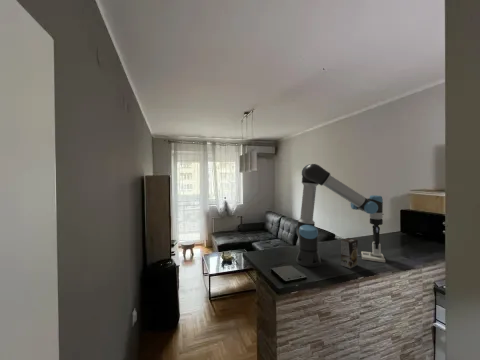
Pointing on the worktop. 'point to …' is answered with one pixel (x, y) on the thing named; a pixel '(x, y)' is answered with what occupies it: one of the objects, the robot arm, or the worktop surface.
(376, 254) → the charger
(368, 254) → the outlet plate
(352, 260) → the coffee box
